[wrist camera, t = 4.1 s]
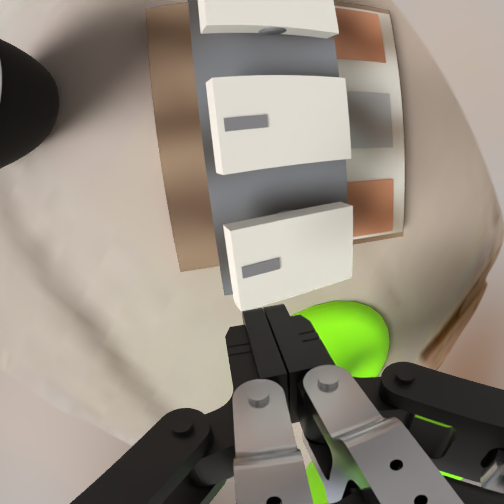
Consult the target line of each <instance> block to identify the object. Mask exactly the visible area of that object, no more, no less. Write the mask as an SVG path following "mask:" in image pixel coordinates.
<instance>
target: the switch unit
mask: <svg viewBox="0 0 504 504" xmlns="http://www.w3.org/2000/svg"><path fill="white" fill-rule="evenodd" d="M334 6H335V12H336V17H337V23H338V30H339V34H337V35H334V36H332V37H329V38H327V39H326V38H318V37H310V36H299V35H287V34H276V35H262V34H259V33H207V34H201V31H200V21H199V10H198V0H188V2H186V3H178V4H172V5H166V6H160V7H154V8H149V9H146V23H147V40H148V54H149V66H150V77H151V87H152V97H153V106H154V114H155V123H156V131H157V138H158V146H159V153H160V160H161V166H162V173H163V179H164V186H165V192H166V198H167V204H168V209H169V215H170V221H171V226H172V231H173V237H174V242H175V247H176V252H177V257H178V262H179V267H180V272H183V271H189V270H196V269H202V268H209V267H215V266H220V271H221V277H222V283H223V289H224V295H231V294H233V291H232V284H231V277H230V270H229V263H228V256H227V249H226V242H225V235H224V228H223V225H224V224H229V223H234V222H239V221H243V220H248V219H253V218H258V217H263V216H268V215H273V214H277V213H278V212H281V211H285V210H298V209H303V208H309V207H314V206H319V205H324V204H330V203H335V202H343V203H346V204H349V205H352V206H353V244H359V243H365V242H371V241H377V240H383V239H389V238H395V237H401V236H403V230H404V210H405V140H404V120H403V106H402V94H401V84H400V75H399V67H398V60H397V53H396V46H395V40H394V34H393V28H392V23H391V18H390V13H389V10H384V9H379V8H374V7H369V6H363V5H357V4H350V3H343V2H335V1H334ZM252 75H302V76H324V77H339V78H345V82H346V91H347V102H348V113H349V126H350V141H351V159H343V160H333V161H323V162H314V163H305V164H297V165H289V166H281V167H274V168H266V169H259V170H253V171H246V172H239V173H233V174H227V175H221V174H218V173H216V167H215V159H214V150H213V142H212V134H211V125H210V117H209V108H208V99H207V90H206V82H207V81H209V80H210V79H211V78H215V77H230V76H252Z"/></svg>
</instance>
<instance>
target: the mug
mask: <svg viewBox="0 0 504 504" xmlns="http://www.w3.org/2000/svg"><path fill="white" fill-rule="evenodd" d="M58 105H59V97H58V90H57V87H56V84H55V81H54V79H53V78H52V76H51V75H50V73H49V72H48V71H47V70H46V69H45V68H44V67H43V66H42V65H41V64H40V63H39V62H38V61H36V60H35V59H34V58H32V57H31V56H29V55H28V54H27V53H25V52H23V51H22V50H20V49H18V48H17V47H15V46H13V45H11V44H9V43H7V42H5V41H3V40H1V39H0V168H2V167H4V166H6V165H9V164H11V163H13V162H14V161H16V160H18V159H20V158H22V157H23V156H25V155H27V154H28V153H30V152H31V151H32V150H34V149H35V148H36V147H37V146H38V145H39V144H40V143H41V142H42V141H43V140H44V139H45V138H46V136H47V135H48V134H49V132H50V130H51V129H52V127H53V125H54V122H55V119H56V116H57V112H58Z"/></svg>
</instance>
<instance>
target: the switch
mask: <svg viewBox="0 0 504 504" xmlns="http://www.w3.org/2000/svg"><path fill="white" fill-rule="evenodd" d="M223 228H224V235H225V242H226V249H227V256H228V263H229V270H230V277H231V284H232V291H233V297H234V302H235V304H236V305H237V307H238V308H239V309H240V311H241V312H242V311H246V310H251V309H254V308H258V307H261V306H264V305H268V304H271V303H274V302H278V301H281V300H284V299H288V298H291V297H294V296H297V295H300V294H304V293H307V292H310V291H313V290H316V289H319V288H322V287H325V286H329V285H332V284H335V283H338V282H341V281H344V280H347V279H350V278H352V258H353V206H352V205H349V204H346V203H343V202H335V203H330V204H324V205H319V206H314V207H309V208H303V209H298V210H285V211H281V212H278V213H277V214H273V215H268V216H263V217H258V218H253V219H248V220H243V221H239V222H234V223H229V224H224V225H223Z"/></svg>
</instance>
